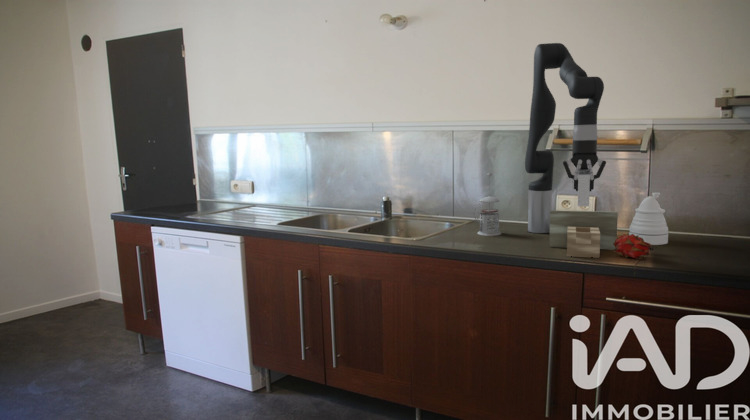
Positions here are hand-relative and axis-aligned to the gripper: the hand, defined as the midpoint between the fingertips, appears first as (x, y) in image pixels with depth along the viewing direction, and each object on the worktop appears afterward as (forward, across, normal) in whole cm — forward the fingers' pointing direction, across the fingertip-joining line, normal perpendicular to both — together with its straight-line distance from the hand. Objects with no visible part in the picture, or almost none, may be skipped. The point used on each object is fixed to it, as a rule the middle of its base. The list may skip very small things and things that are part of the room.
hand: (583, 190), depth 181 cm
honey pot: (+21, -23, -26) cm, 41 cm away
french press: (+21, +36, -29) cm, 51 cm away
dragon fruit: (+21, -15, +3) cm, 27 cm away
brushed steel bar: (+5, 0, 0) cm, 5 cm away
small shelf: (+21, 0, -2) cm, 21 cm away
